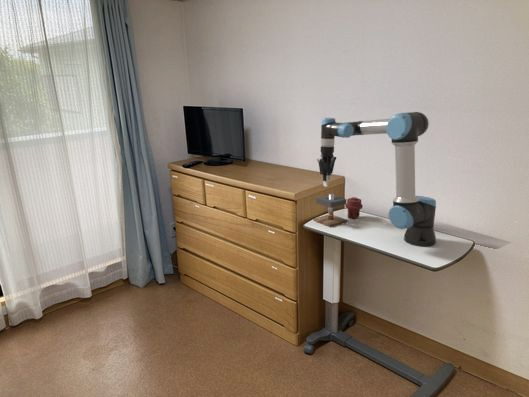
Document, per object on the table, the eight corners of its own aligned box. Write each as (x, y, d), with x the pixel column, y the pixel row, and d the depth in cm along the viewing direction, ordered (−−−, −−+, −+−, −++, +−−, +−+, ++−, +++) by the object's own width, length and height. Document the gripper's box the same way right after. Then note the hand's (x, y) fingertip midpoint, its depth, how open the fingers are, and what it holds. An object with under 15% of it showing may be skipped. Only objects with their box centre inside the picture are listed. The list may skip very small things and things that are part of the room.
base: (347, 222, 235) (347, 220, 234) (330, 227, 227) (330, 224, 226) (330, 216, 246) (330, 214, 245) (313, 220, 238) (313, 218, 237)
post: (334, 219, 235) (335, 194, 231) (330, 220, 234) (331, 195, 230) (330, 218, 238) (331, 193, 234) (326, 219, 236) (327, 194, 232)
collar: (346, 204, 232) (346, 199, 231) (330, 207, 225) (331, 202, 224) (331, 199, 241) (331, 194, 240) (316, 203, 235) (316, 198, 234)
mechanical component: (342, 218, 242) (349, 214, 249) (357, 221, 236) (364, 217, 244) (342, 198, 238) (350, 195, 246) (358, 201, 233) (365, 197, 240)
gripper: (331, 143, 235) (329, 183, 241) (314, 145, 227) (313, 186, 234) (340, 145, 229) (338, 185, 235) (323, 147, 221) (321, 189, 228)
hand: (325, 186), depth 234 cm, fingers closed
